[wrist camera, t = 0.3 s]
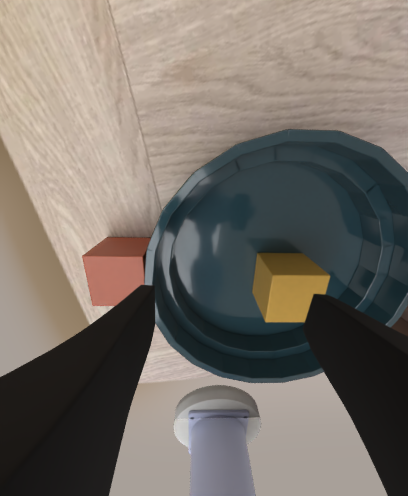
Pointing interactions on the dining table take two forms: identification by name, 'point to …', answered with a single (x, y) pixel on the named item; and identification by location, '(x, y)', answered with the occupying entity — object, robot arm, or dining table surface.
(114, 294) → the terracotta block
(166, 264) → the bowl
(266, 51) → the dining table surface
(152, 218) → the dining table surface
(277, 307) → the mustard block
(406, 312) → the flat brown block
